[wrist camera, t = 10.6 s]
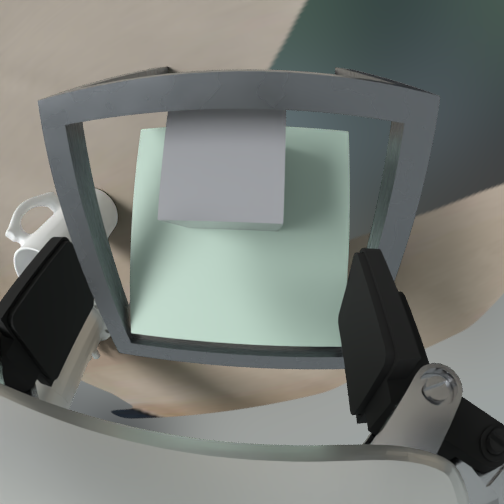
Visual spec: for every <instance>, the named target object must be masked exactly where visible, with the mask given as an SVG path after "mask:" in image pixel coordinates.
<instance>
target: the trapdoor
mask: <svg viewBox="0 0 504 504" xmlns="http://www.w3.org/2000/svg"><path fill="white" fill-rule="evenodd" d="M165 131H166V127H165V128H150V129H141V134H140V142H139V149H138V158H137V167H136V176H135V187H134V199H133V213H132V230H131V257H130V316H131V333H134V334H141V335H149V336H157V337H166V338H175V339H185V340H195V341H206V342H219V343H233V344H250V345H272V346H312V347H341V338H340V332H339V326H338V315H339V311H340V308H341V304H342V300H343V297H344V293H345V289H346V285H347V274H348V254H349V223H350V166H349V134H348V131H338V130H327V129H315V128H301V127H286V141H285V185H284V216H283V225H282V227H281V228H280V230H279V231H255V230H228V229H198V228H187V227H183V226H179V225H175V224H171V223H167V222H163V221H159V220H158V204H159V191H160V179H161V168H162V158H163V148H164V140H165Z"/></svg>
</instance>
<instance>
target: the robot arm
mask: <svg viewBox="0 0 504 504" xmlns="http://www.w3.org/2000/svg"><path fill="white" fill-rule="evenodd" d="M338 326H339V332H340V338H341V345H342V352H343V358H344V365H345V373H346V380H347V388H348V396H349V404H350V412H351V414H352V415H356V418H357V423H367V425H368V431H370V432H371V433H370V434H369V436H368V437H367V439H366V440H365V442H364V443H363V444H362V445H324V446H323V445H321V446H320V445H319V446H293V445H291V446H290V445H264V444H263V445H262V444H245V443H233V442H221V441H212V440H204V439H196V438H190V437H183V436H177V435H171V434H165V433H159V432H154V431H149V430H144V429H139V428H135V427H130V426H126V425H122V424H117V423H114V422H110V421H106V420H102V419H99V418H95V417H91V416H88V415H84V414H81V413H78V412H75V411H72V410H69V409H70V406H71V403H72V401H73V398H74V396H75V393H76V391H77V388H78V386H79V383H80V381H81V378H82V376H83V374H84V371H85V369H86V367H87V364H88V362H89V361H90V360H91V359H92V356H93V358H94V359H98V358H99V357H100V354H99V352H98V350H97V347H98V344H99V342H100V341H103V340H106V339H108V338H109V337H110V336H111V335H110V333H109V331H108V329H107V327H106V325H105V323H104V321H103V318H102V316H101V314H100V312H99V310H98V307H97V305H96V303H95V300H94V298H93V295H92V293H91V290H90V288H89V286H88V283H87V281H86V278H85V275H84V273H83V270H82V268H81V265H80V262H79V260H78V257H77V254H76V251H75V249H74V246H73V244H72V242H70V240H69V239H68V238H67V237H52V238H51V239H50V240H49V241H48V242H47V243H46V244H45V245H44V247H43V248H42V249H41V250H40V251H39V253H38V254H37V255H36V256H35V257H34V259H33V260H32V261H31V262H30V263H29V265H28V266H27V267H26V268H25V270H24V271H23V272H22V273H21V275H20V276H19V277H18V279H17V280H16V281H15V282H14V284H13V285H12V286H11V288H10V289H9V290H8V292H7V293H6V295H5V296H4V297H3V299H2V300H1V301H0V504H504V425H503V424H502V423H500V422H499V421H497V420H496V419H494V418H493V417H491V416H490V415H488V414H487V413H485V412H484V411H482V410H481V409H479V408H478V407H476V406H475V405H473V404H472V403H471V402H469V401H468V400H466V399H465V398H463V397H462V392H463V389H462V383H461V381H460V378H459V377H458V375H457V374H456V373H455V372H454V371H453V370H452V369H451V368H449V367H448V366H445V365H443V364H439V363H431V364H429V361H428V358H427V356H426V352H425V349H424V346H423V343H422V340H421V337H420V335H419V332H418V329H417V326H416V323H415V321H414V318H413V315H412V313H411V310H410V307H409V305H408V302H407V300H406V297H405V295H404V294H403V293H402V292H398V290H397V288H396V285H395V283H394V280H393V278H392V275H391V273H390V270H389V268H388V265H387V263H386V261H385V258H384V256H383V254H382V251H381V250H380V249H373V248H362V249H361V250H360V253H355V254H354V257H353V261H352V266H351V270H350V274H349V278H348V281H347V285H346V289H345V293H344V297H343V300H342V304H341V308H340V311H339V315H338Z"/></svg>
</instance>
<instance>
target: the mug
mask: <svg viewBox="0 0 504 504" xmlns="http://www.w3.org/2000/svg"><path fill="white" fill-rule="evenodd" d="M95 191H96V196H97V200H98V204H99V208H100V212H101V216H102V220H103V224H104V227H105V231H106V235H107V238H108V237H109V235H110V234H111V232H112V231H113V230H114V228H115V226H116V224H117V220H118V213H117V209H116V206H115V204H114V202H113V201H112V199H111V198H110V197H109V196H108V195H107V194H106V193H104V192H103V191H101V190H99V189H96V188H95ZM37 206H46V207H49V208H50V209H51V210H52V211H53V212H54V214H53V215H52V216H51V217H50V218H49V219H48V220H47V221H46V222H45V223H44V224H43V225H42V226H41V227H40V228H39V229H38V230H37V231H36V232H34V233H33V234H28V233H27V232H25V231H24V230H23V228H22V226H21V220H22V217H23V215H24V214H25V213H26V212H27V211H28V210H30V209H32V208H34V207H37ZM6 236H7V237H8V238H10V239H11V240H12V241H13V242H15V241H16V242H18V243H19V244H20V245H21V248H19V249H18V250H17V251H16V252H15V254H14V267H15V270H16V273H17V275H18V277H19V276H20V275H21V273H22V272H23V271H24V270H25V268H26V267H27V266H28V265H29V263H30V262H31V261H32V260H33V259H34V257H35V256H36V255H37V254H38V253H39V251H40V250H41V249H42V248H43V247H44V245H45V244H46V243H47V242H48V241H49V240H50V239H51V238H52V237H67V238H68V239H69V240H70V242H72V241H71V238H70V235H69V232H68V229H67V225H66V222H65V219H64V216H63V213H62V209H61V206H60V202H59V199H58V196H57V195H56V194H55V193H54V192H48V193H45V194H42V195H38V196H35V197H32V198H30V199H28V200H26V201H24V202H23V203H21V204H20V205H19V206H18V207H17V209H16V210H15V212H14V214H13V216H12V219H11V222H10V225H9V228H8V229H7V231H6ZM72 244H73V243H72Z"/></svg>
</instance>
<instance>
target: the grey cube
mask: <svg viewBox="0 0 504 504" xmlns="http://www.w3.org/2000/svg"><path fill="white" fill-rule="evenodd" d="M285 141H286V110H277V109H199V110H179V111H168V116H167V124H166V131H165V140H164V148H163V158H162V168H161V179H160V191H159V204H158V220H159V221H163V222H167V223H171V224H175V225H179V226H183V227H187V228H198V229H228V230H255V231H279V230H280V228H281V227H282V225H283V216H284V185H285Z"/></svg>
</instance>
